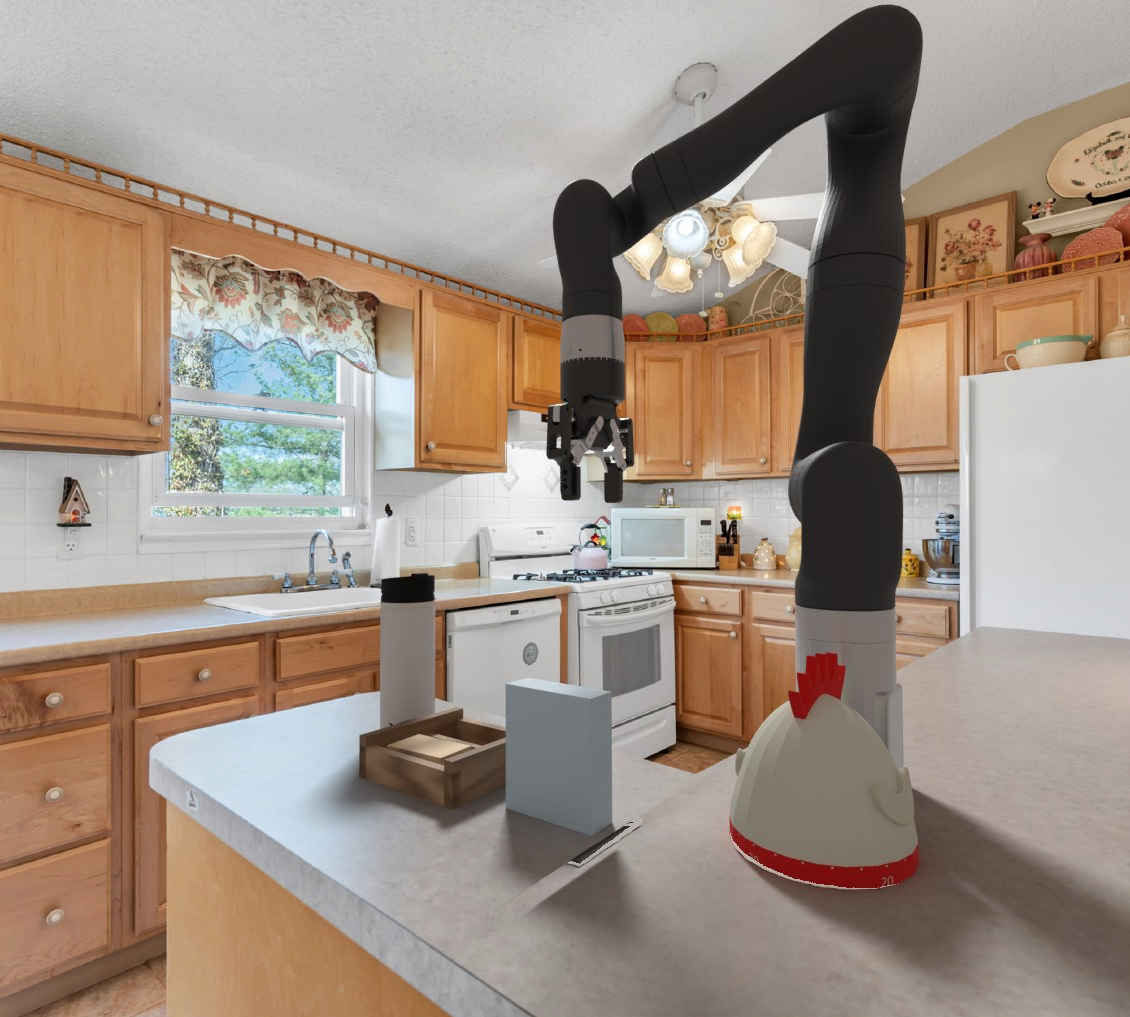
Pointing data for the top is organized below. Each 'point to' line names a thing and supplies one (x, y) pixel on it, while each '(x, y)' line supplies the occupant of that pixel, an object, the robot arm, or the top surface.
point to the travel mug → (407, 648)
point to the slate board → (559, 753)
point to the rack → (430, 780)
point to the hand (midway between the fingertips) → (593, 501)
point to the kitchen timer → (824, 791)
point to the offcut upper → (429, 748)
